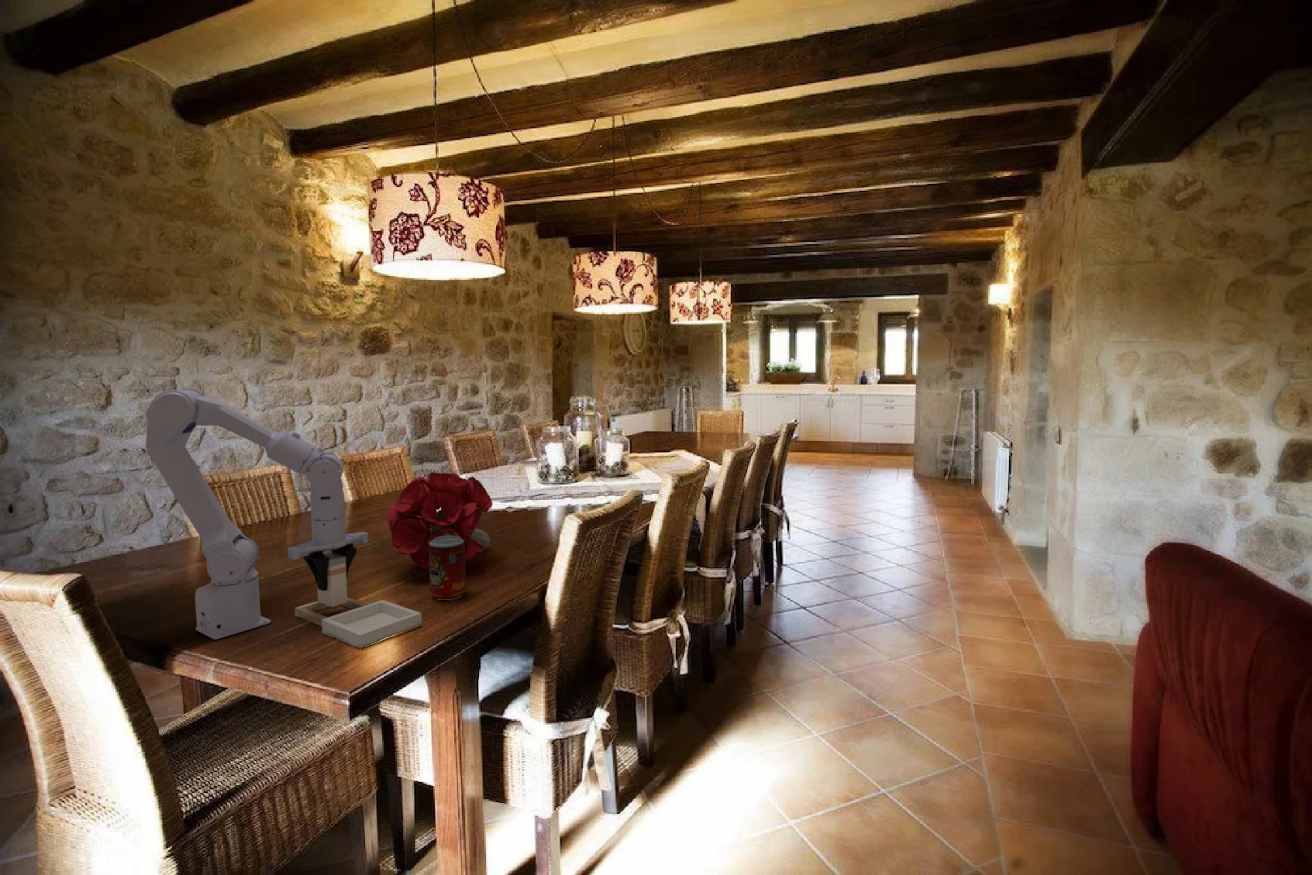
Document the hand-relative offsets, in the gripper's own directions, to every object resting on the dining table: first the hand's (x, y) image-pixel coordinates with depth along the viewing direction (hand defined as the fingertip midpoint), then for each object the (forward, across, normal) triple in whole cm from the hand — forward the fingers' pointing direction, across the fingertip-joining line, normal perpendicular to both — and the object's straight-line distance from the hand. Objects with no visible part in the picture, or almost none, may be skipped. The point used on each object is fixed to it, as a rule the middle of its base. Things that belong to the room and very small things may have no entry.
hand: (331, 587), depth 126 cm
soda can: (+6, +19, -10) cm, 22 cm away
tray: (+5, 0, -13) cm, 14 cm away
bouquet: (+6, +33, +7) cm, 35 cm away
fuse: (+3, 0, 0) cm, 3 cm away
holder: (+5, 0, 0) cm, 5 cm away
